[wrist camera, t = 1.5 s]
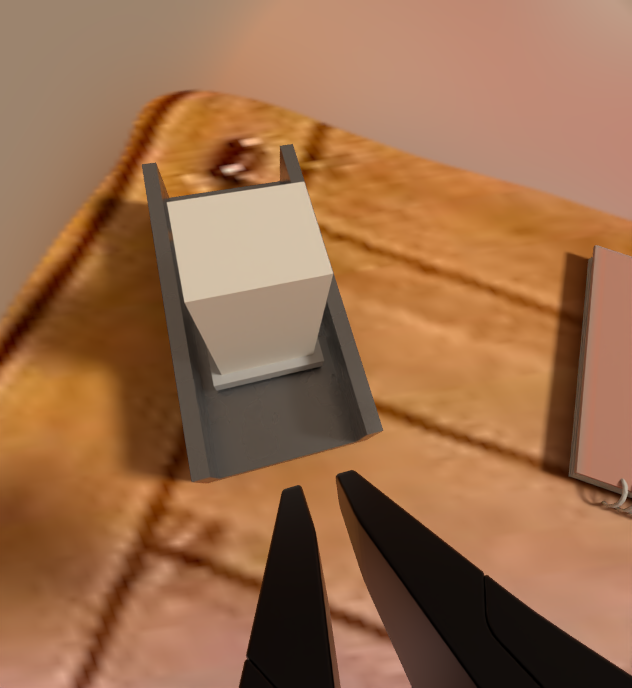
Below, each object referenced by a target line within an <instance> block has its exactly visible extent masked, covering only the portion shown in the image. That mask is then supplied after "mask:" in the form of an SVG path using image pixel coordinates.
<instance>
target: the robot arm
mask: <svg viewBox="0 0 632 688" xmlns="http://www.w3.org/2000/svg"><path fill="white" fill-rule="evenodd" d="M336 484H337V491H338V499H339V505H340V509H341V512H342V515H343V518H344V521H345V525H346V528H347V531H348V534H349V537H350V540H351V543H352V546H353V549H354V552H355V555H356V559H357V562H358V565H359V568H360V571H361V573H362V576H363V579H364V581H365V584H366V586H367V589H368V591H369V593H370V595H371V598H372V600H373V602H374V604H375V607H376V609H377V611H378V613H379V615H380V618H381V620H382V622H383V624H384V626H385V629H386V631H387V633H388V635H389V637H390V640H391V642H392V644H393V646H394V649H395V651H396V653H397V655H398V657H399V660H400V662H401V664H402V666H403V668H404V671H405V673H406V675H407V677H408V679H409V682H410V684H411V686H412V688H632V676H631V675H630V674H628V673H627V672H625V671H624V670H622V669H621V668H619V667H618V666H616V665H615V664H613V663H612V662H610V661H608V660H607V659H605V658H604V657H602V656H601V655H599V654H598V653H596V652H595V651H593V650H592V649H590V648H589V647H587V646H586V645H584V644H582V643H581V642H579V641H578V640H576V639H575V638H573V637H572V636H570V635H569V634H567V633H566V632H564V631H563V630H561V629H560V628H558V627H557V626H556V625H554V624H553V623H551V622H550V621H548V620H547V619H545V618H544V617H542V616H541V615H539V614H538V613H536V612H535V611H534V610H532V609H531V608H530V607H528V606H527V605H526V604H524V603H523V602H522V601H520V600H519V599H518V598H516V597H515V596H514V595H512V594H511V593H510V592H508V591H507V590H506V589H504V588H503V587H502V586H501V585H499V584H498V583H497V582H496V581H494V580H493V579H492V578H491V577H489V576H488V575H485V576H484V573H483V571H481V570H480V569H479V568H478V567H476V566H475V565H474V564H472V563H471V562H470V561H469V560H467V559H466V558H465V557H464V556H462V555H461V554H460V553H459V552H457V551H456V550H455V549H453V548H452V547H451V546H450V545H448V544H447V543H446V542H445V541H443V540H442V539H441V538H439V537H438V536H437V535H436V534H434V533H433V532H432V531H431V530H429V529H428V528H427V527H425V526H424V525H423V524H422V523H420V522H419V521H418V520H417V519H415V518H414V517H413V516H412V515H410V514H409V513H408V512H406V511H405V510H404V509H403V508H401V507H400V506H399V505H398V504H396V503H395V502H394V501H392V500H391V499H390V498H389V497H387V496H386V495H385V494H384V493H382V492H381V491H380V490H378V489H377V488H376V487H375V486H373V485H372V484H371V483H370V482H368V481H367V480H366V479H365V478H363V477H362V476H361V475H359V474H358V473H357V472H356V471H353V470H350V471H347V472H343V473H339V474H337V476H336ZM246 657H247V660H245V662H244V666H243V671H242V675H241V680H240V684H239V688H341V686H340V679H339V672H338V665H337V658H336V651H335V644H334V638H333V631H332V624H331V617H330V610H329V603H328V598H327V592H326V586H325V581H324V575H323V570H322V564H321V559H320V553H319V547H318V542H317V536H316V531H315V528H314V524H313V521H312V518H311V514H310V511H309V508H308V505H307V502H306V499H305V495H304V492H303V489H302V487H301V486H300V485H297V486H294V487H290V488H287V489H284V490H283V491H282V494H281V499H280V503H279V508H278V513H277V517H276V522H275V526H274V531H273V535H272V540H271V544H270V549H269V553H268V558H267V563H266V567H265V572H264V576H263V581H262V585H261V590H260V594H259V599H258V604H257V608H256V613H255V617H254V622H253V626H252V631H251V635H250V640H249V644H248V649H247V654H246Z"/></svg>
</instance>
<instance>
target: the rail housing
mask: <svg viewBox="0 0 632 688" xmlns="http://www.w3.org/2000/svg"><path fill="white" fill-rule="evenodd" d="M142 169H143V175H144V182H145V188H146V194H147V201H148V207H149V213H150V220H151V226H152V233H153V239H154V245H155V252H156V258H157V264H158V271H159V277H160V284H161V290H162V296H163V303H164V309H165V315H166V322H167V328H168V334H169V341H170V347H171V354H172V360H173V366H174V373H175V379H176V385H177V392H178V398H179V404H180V411H181V417H182V424H183V430H184V436H185V443H186V449H187V455H188V462H189V468H190V474H191V481H192V482H197V483H210V482H214V481H217V480H221V479H225V478H228V477H232V476H236V475H239V474H243V473H247V472H250V471H254V470H258V469H262V468H265V467H269V466H273V465H276V464H280V463H284V462H287V461H291V460H295V459H298V458H302V457H306V456H309V455H313V454H317V453H321V452H324V451H328V450H332V449H335V448H339V447H343V446H346V445H350V444H354V443H357V442H361V441H365V440H367V439H369V438H371V437H373V436H374V435H376V434H378V433H380V432H382V431H383V428H382V425H381V422H380V419H379V416H378V413H377V409H376V406H375V403H374V400H373V397H372V394H371V390H370V387H369V384H368V381H367V378H366V375H365V371H364V368H363V365H362V362H361V359H360V356H359V352H358V349H357V346H356V343H355V340H354V337H353V333H352V330H351V327H350V324H349V321H348V318H347V314H346V311H345V308H344V305H343V302H342V299H341V295H340V292H339V289H338V286H337V283H336V280H335V277H334V273H333V277H332V281H331V285H330V289H329V293H328V297H327V301H326V305H325V309H324V313H323V317H322V321H321V325H320V329H319V333H318V340H319V344H320V347H321V351H322V354H323V358H324V363H323V366H320V367H316V368H312V369H308V370H303V371H299V372H295V373H290V374H286V375H282V376H278V377H273V378H269V379H265V380H261V381H256V382H252V383H248V384H243V385H239V386H235V387H231V388H226V389H222V390H218V391H217V390H216V389H215V387H214V385H213V379H212V374H211V369H210V363H209V358H208V353H207V347H206V344H205V342H204V340H203V338H202V336H201V334H200V332H199V330H198V328H197V326H196V324H195V322H194V320H193V318H192V316H191V314H190V312H189V310H188V308H187V306H186V305H185V303H184V297H183V291H182V286H181V280H180V274H179V269H178V263H177V257H176V251H175V246H174V240H173V234H172V229H171V223H170V217H169V212H168V206H167V202H172V201H179V200H186V199H192V198H199V197H205V196H212V195H219V194H225V193H232V192H238V191H245V190H252V189H258V188H265V187H271V186H278V185H285V184H291V183H298V182H304V178H303V175H302V172H301V169H300V166H299V163H298V159H297V156H296V153H295V150H294V147H293V144H291V145H283V146H280V181H279V182H272V183H266V184H259V185H252V186H246V187H239V188H232V189H226V190H219V191H212V192H206V193H199V194H192V195H186V196H179V197H172V198H169V195H168V193H167V190H166V188H165V185H164V182H163V180H162V177H161V174H160V172H159V169H158V167H157V164H156V163H150V164H142ZM304 183H305V182H304ZM305 186H306V185H305ZM306 189H307V188H306ZM307 192H308V191H307ZM308 195H309V194H308ZM309 199H310V197H309ZM310 202H311V201H310ZM311 205H312V204H311ZM312 208H313V207H312ZM313 211H314V210H313ZM314 214H315V213H314ZM315 218H316V216H315ZM316 221H317V220H316ZM317 224H318V223H317ZM318 227H319V226H318ZM319 230H320V229H319ZM320 233H321V232H320ZM321 237H322V235H321ZM322 240H323V239H322ZM323 243H324V242H323ZM324 246H325V245H324ZM325 249H326V248H325ZM326 252H327V251H326ZM327 256H328V254H327ZM328 259H329V258H328ZM329 262H330V261H329ZM330 265H331V264H330ZM331 268H332V267H331ZM332 271H333V270H332Z"/></svg>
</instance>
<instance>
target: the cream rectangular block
mask: <svg viewBox="0 0 632 688" xmlns="http://www.w3.org/2000/svg"><path fill="white" fill-rule="evenodd" d="M167 206H168V212H169V217H170V223H171V229H172V234H173V240H174V246H175V251H176V257H177V263H178V269H179V274H180V280H181V286H182V291H183V297H184V303H185V305H186V306H187V308H188V310H189V312H190V314H191V316H192V318H193V320H194V322H195V324H196V326H197V328H198V330H199V332H200V334H201V336H202V338H203V340H204V342H205V344H206V347H207V353H208V358H209V363H210V369H211V374H212V379H213V385H214V387H215V389H216V390H217V391H218V390H222V389H226V388H231V387H235V386H239V385H243V384H248V383H252V382H256V381H261V380H265V379H269V378H273V377H278V376H282V375H286V374H290V373H295V372H299V371H303V370H308V369H312V368H316V367H320V366H323V363H324V358H323V354H322V351H321V347H320V344H319V340H318V333H319V329H320V325H321V321H322V317H323V313H324V309H325V305H326V301H327V297H328V293H329V289H330V285H331V281H332V277H333V271H332V268H331V265H330V262H329V259H328V256H327V252H326V249H325V246H324V243H323V240H322V237H321V233H320V230H319V227H318V224H317V221H316V218H315V214H314V211H313V208H312V205H311V202H310V199H309V195H308V192H307V189H306V186H305V183H304V182H298V183H291V184H285V185H278V186H271V187H265V188H258V189H252V190H245V191H238V192H232V193H225V194H219V195H212V196H205V197H199V198H192V199H186V200H179V201H172V202H167Z"/></svg>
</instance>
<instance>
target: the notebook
mask: <svg viewBox="0 0 632 688" xmlns="http://www.w3.org/2000/svg"><path fill="white" fill-rule="evenodd" d="M569 476H570V477H573V478H576V479H579V480H581V481H584V482H587V483H590V484H593V485H596V486H599V487H602V488H604V489H607V490H610V491H613V492H616V493H619V494H622V496H621V498H620V499H619V501H618V502H616V503H614V504H611V505H608V504H607V503H606V502H604V501H603V502H602V504H603V505H605V506H606V507H612V508H616V509H617V510H618V511H623V512H628V513H629V514H630V515H632V512H631V511H632V505H631V506H630V507H628V508H626V509H620V508H619V506H621V505H622V504H623V503H624V502H625V500H626V497H630V498H632V257H631V256H628V255H625V254H622V253H619V252H616V251H613V250H609V249H606V248H603V247H600V246H597V245H595V246H594V248H593V258H592V257H591V258H590V259H588V269H587V280H586V291H585V302H584V313H583V324H582V335H581V346H580V357H579V368H578V379H577V390H576V401H575V412H574V423H573V434H572V444H571V455H570V466H569Z"/></svg>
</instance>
